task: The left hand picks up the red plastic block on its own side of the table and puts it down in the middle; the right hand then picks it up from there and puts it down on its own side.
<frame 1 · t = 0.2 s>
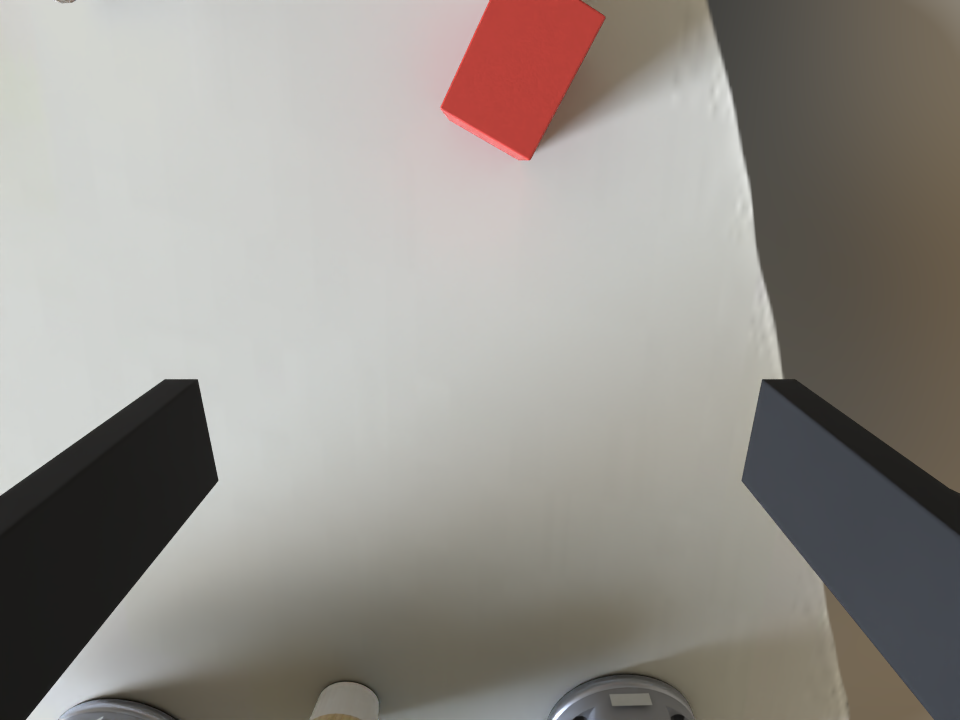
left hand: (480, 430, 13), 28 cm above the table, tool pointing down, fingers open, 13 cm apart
block: (512, 84, 35), on the table
coffee cup: (349, 701, 55), on the table
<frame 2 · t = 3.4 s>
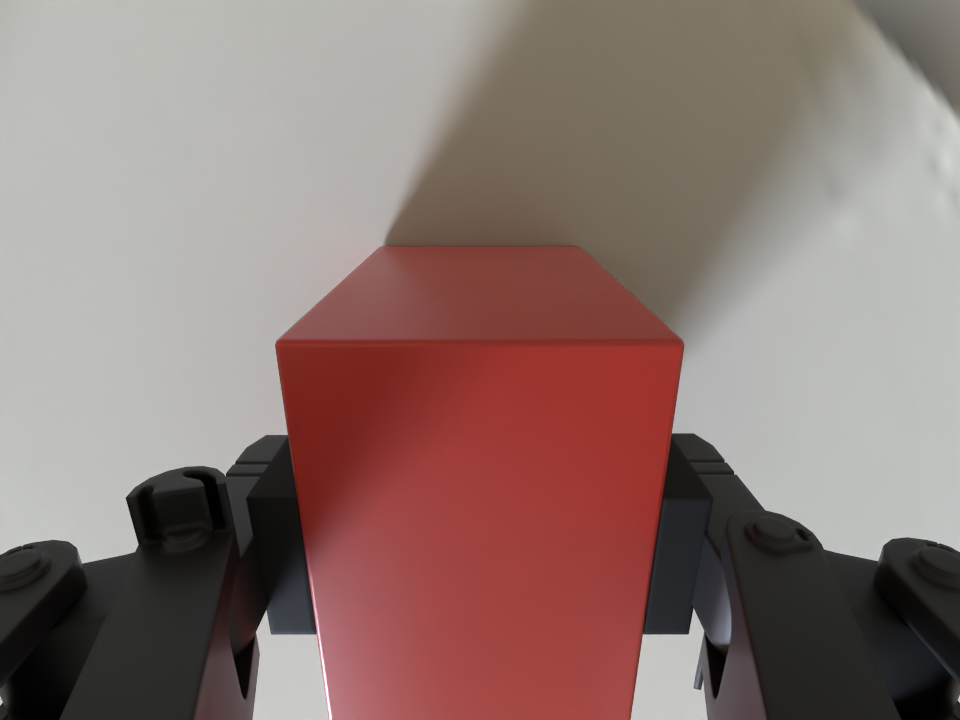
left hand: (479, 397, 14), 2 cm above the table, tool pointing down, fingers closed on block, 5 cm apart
block: (479, 375, 16), on the table, touching left hand
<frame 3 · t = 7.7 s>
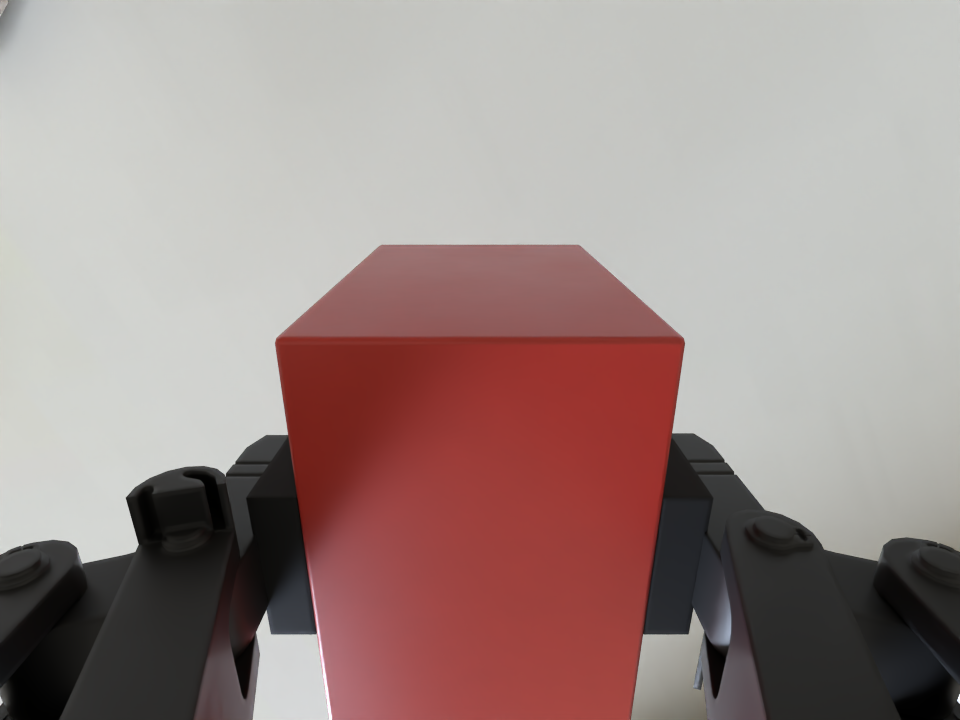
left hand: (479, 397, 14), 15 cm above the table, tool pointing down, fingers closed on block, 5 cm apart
block: (479, 374, 16), point 14 cm above the table, touching left hand
when the left hand's fingers open (3 cm above the table, at t = 12.4 s): block drops 1 cm, on the table.
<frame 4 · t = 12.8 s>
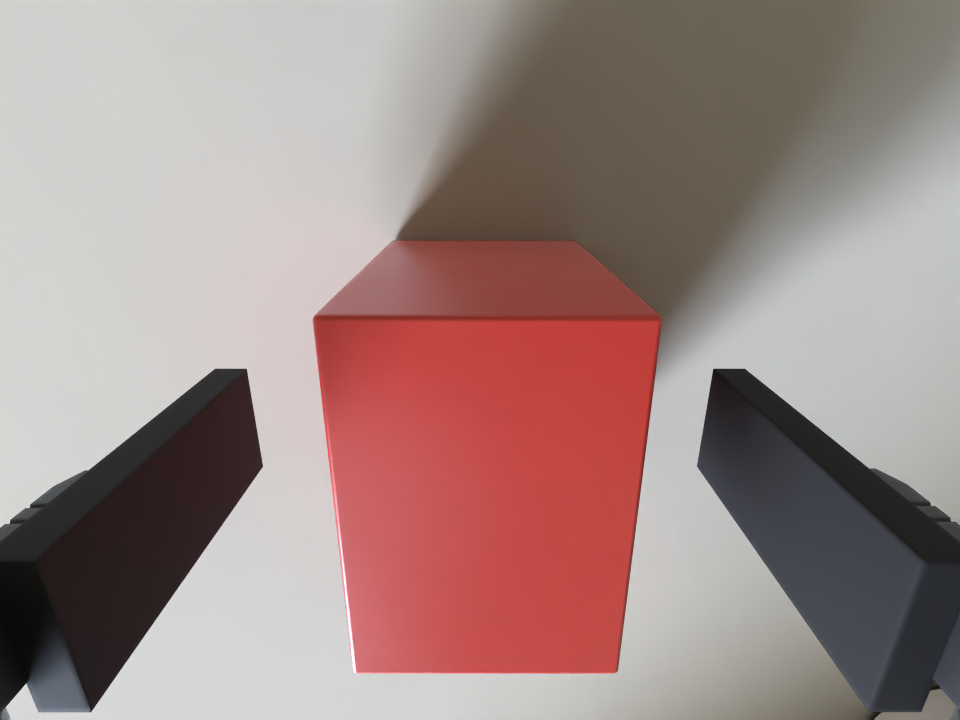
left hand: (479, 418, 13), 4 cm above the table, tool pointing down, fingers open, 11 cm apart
block: (483, 361, 17), on the table
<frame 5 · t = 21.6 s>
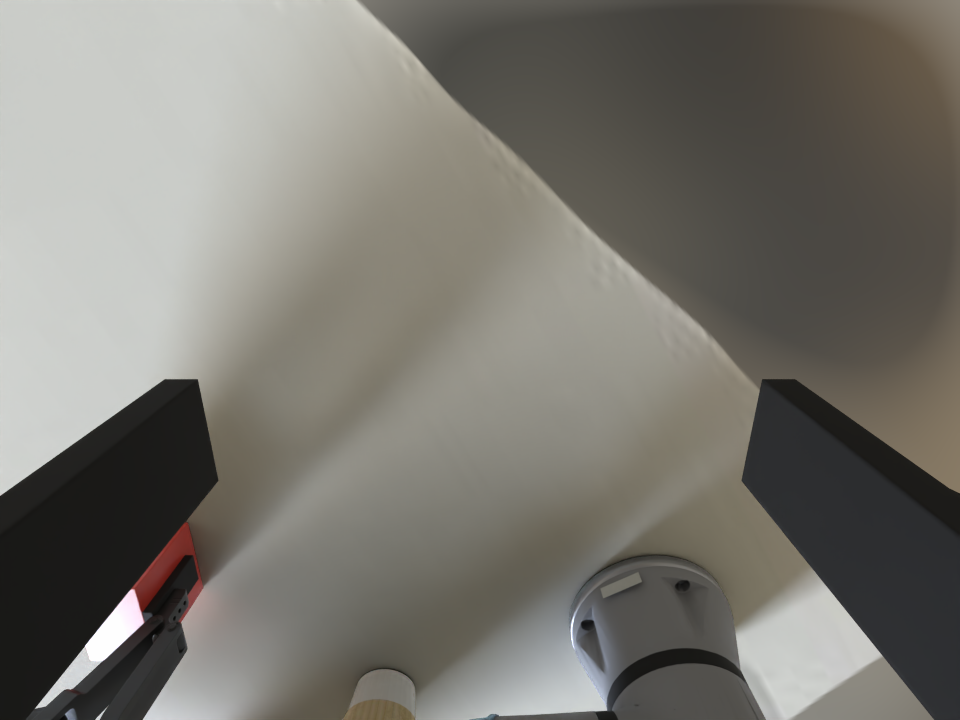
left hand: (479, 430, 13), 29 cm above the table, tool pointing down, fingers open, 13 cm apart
block: (167, 555, 50), on the table, touching right hand
coffee cup: (386, 688, 56), on the table
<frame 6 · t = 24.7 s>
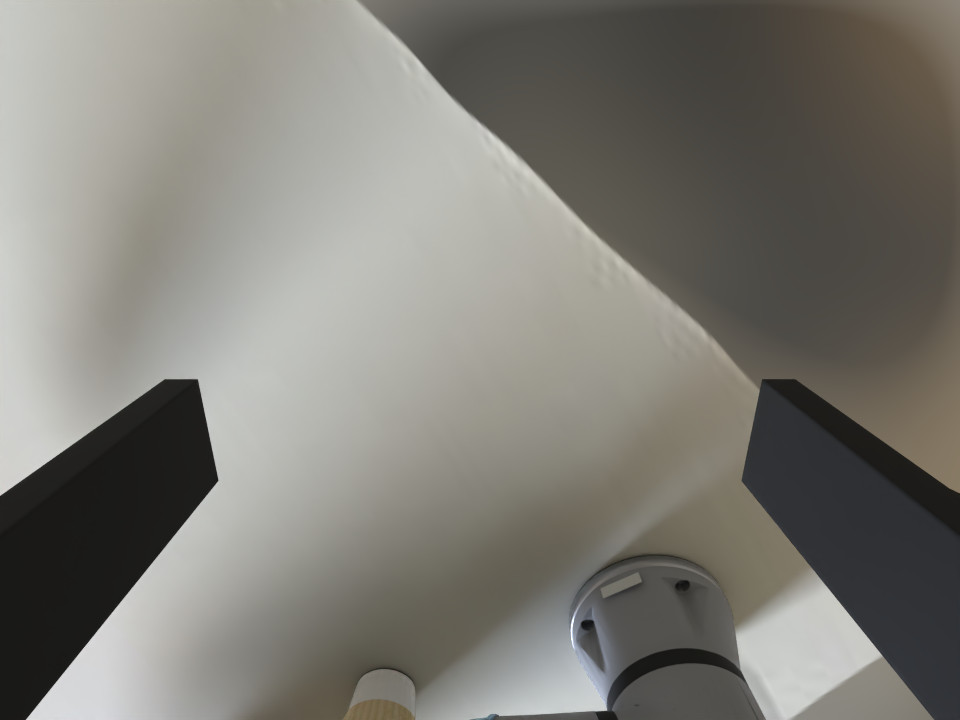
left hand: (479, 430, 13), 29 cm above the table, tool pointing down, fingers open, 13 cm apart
coffee cup: (386, 688, 56), on the table
when the right hand's fingers open (3 cm above the table, at t = 27.8 s): block drops 1 cm, on the table.
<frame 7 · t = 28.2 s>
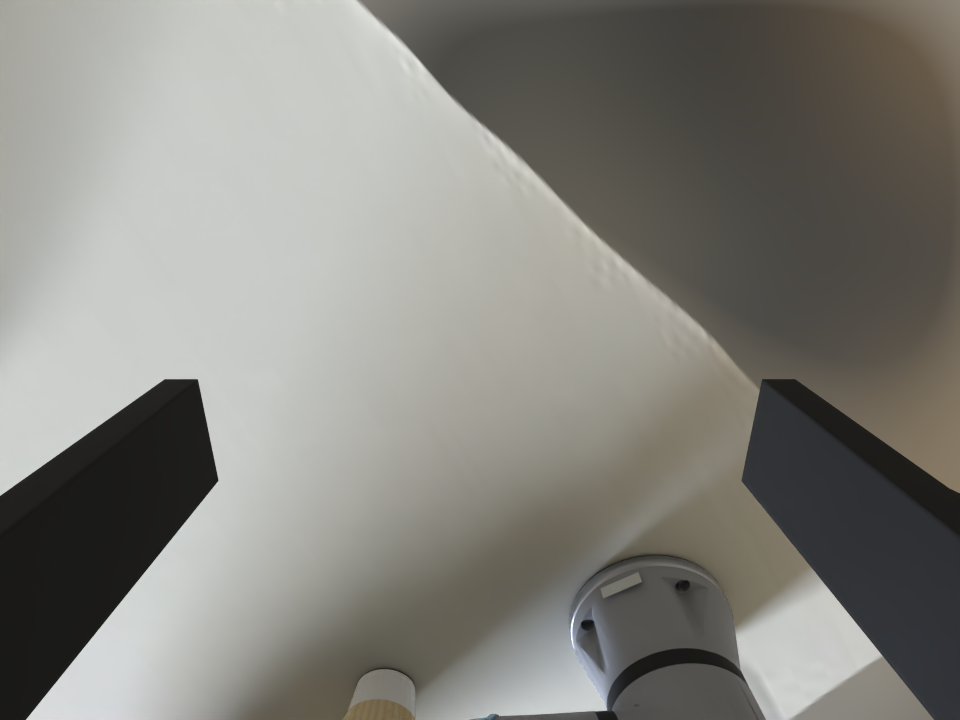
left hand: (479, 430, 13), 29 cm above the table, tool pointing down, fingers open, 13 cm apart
coffee cup: (386, 688, 56), on the table
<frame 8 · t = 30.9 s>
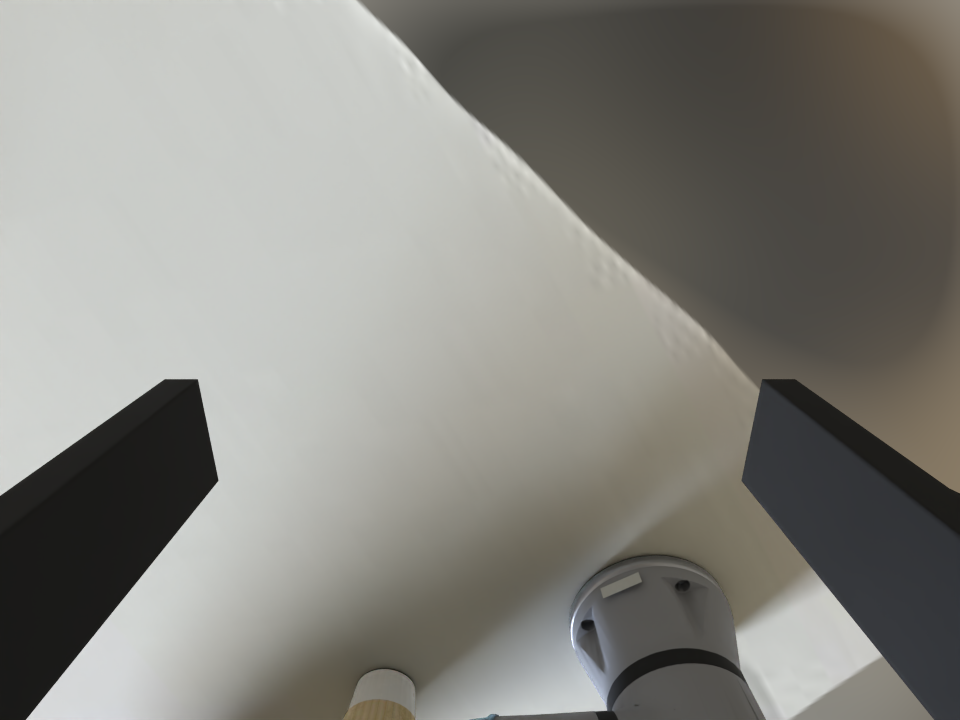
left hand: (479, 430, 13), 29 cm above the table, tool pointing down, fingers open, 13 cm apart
coffee cup: (386, 688, 56), on the table
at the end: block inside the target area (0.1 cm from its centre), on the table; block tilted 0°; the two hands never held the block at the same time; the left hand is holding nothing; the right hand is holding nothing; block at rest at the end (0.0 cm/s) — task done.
